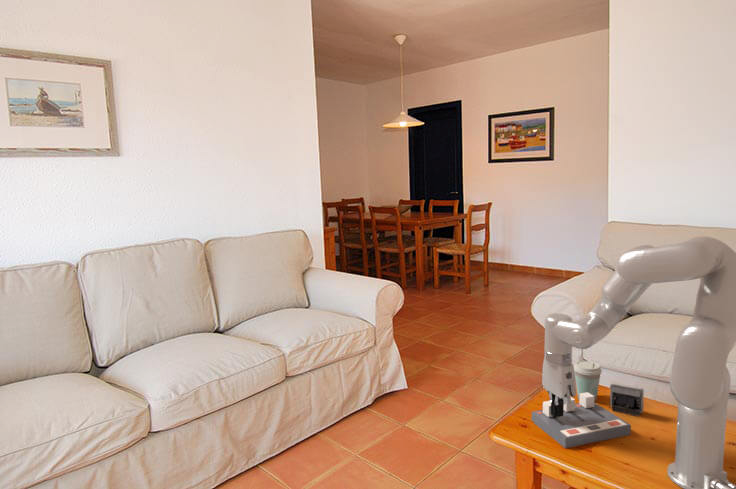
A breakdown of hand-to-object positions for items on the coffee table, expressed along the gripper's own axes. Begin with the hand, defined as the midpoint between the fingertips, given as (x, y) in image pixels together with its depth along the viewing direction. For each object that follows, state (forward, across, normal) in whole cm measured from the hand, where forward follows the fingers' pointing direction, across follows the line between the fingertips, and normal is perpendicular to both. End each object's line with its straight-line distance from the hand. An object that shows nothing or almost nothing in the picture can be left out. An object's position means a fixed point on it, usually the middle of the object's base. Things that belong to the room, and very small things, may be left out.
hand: (557, 415), depth 142 cm
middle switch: (+1, +4, -7) cm, 9 cm away
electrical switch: (+5, +2, -27) cm, 28 cm away
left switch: (+1, +3, 0) cm, 4 cm away
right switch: (+1, +4, -14) cm, 15 cm away
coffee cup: (+5, +14, -22) cm, 27 cm away
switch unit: (+5, -1, -7) cm, 9 cm away
